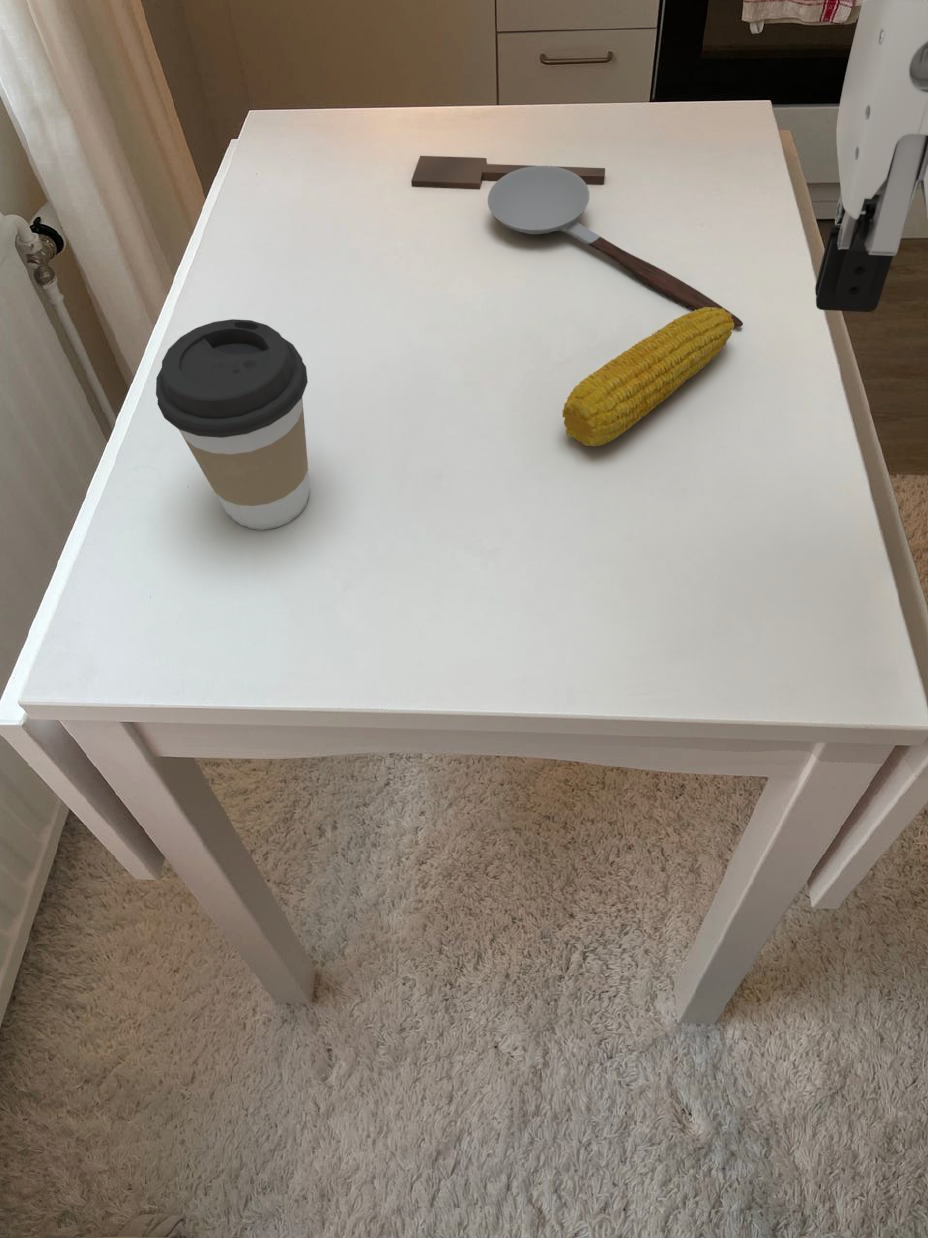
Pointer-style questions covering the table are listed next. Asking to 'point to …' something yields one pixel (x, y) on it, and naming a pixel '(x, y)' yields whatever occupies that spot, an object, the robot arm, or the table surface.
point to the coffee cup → (241, 417)
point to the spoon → (575, 224)
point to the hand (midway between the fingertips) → (844, 301)
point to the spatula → (478, 172)
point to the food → (644, 376)
